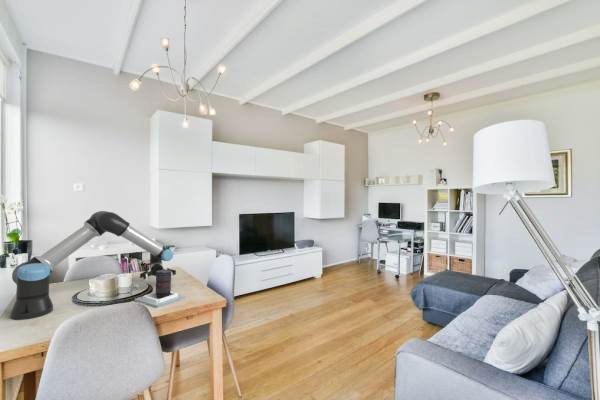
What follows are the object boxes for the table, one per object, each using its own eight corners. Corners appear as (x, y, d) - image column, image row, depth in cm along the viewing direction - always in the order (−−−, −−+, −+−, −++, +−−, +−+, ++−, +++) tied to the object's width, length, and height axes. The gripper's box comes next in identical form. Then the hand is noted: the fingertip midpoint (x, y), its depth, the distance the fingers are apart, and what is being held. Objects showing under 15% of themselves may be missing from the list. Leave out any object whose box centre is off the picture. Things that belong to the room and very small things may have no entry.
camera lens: (165, 299, 158) (165, 273, 158) (152, 298, 160) (152, 272, 160) (173, 295, 166) (174, 269, 166) (161, 294, 167) (162, 268, 168)
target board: (134, 300, 159) (134, 296, 159) (163, 292, 174) (163, 287, 174) (157, 308, 149) (157, 302, 149) (185, 298, 165) (185, 293, 165)
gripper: (176, 272, 195) (181, 280, 177) (135, 277, 182) (135, 285, 164) (177, 262, 195) (181, 268, 177) (135, 265, 182) (136, 273, 164)
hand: (159, 277), depth 170 cm, fingers open, 13 cm apart
